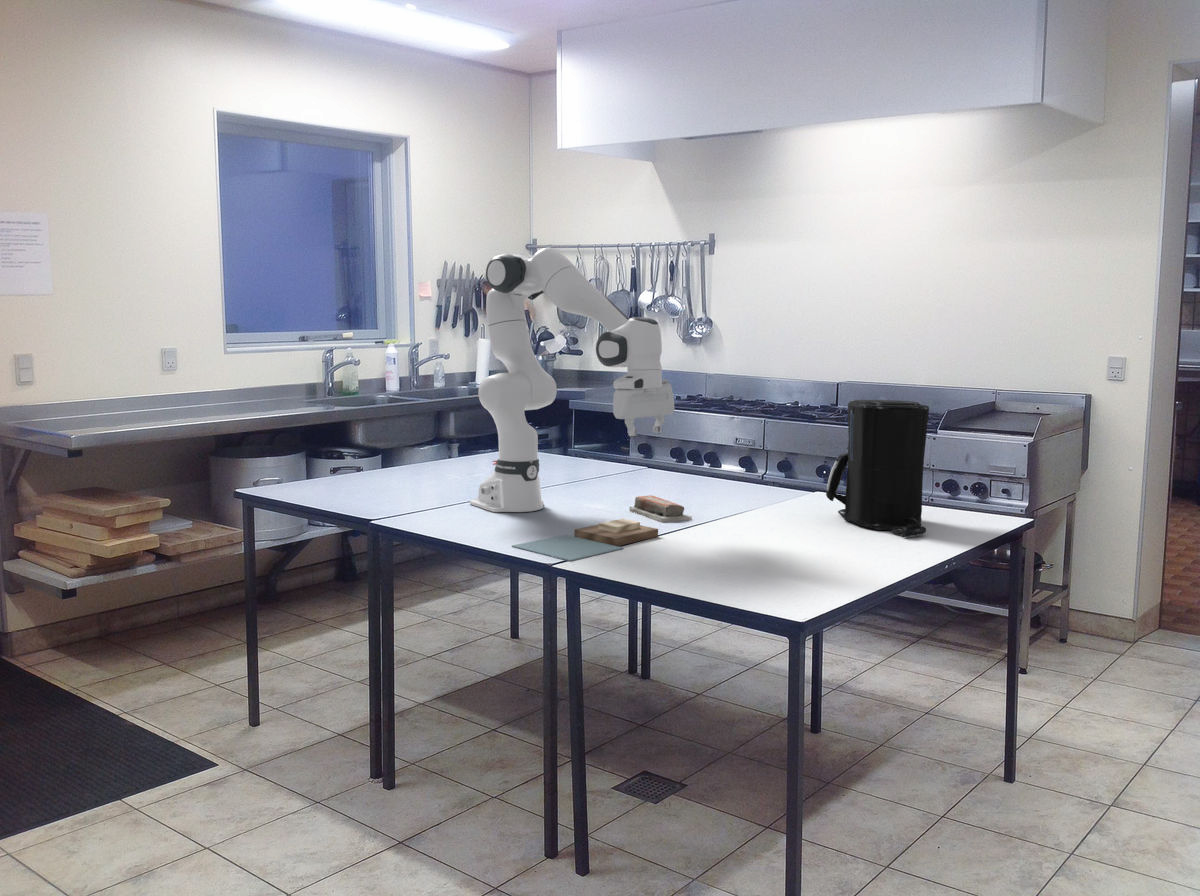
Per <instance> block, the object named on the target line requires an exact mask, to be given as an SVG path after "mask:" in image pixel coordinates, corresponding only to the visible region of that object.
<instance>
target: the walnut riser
mask: <svg viewBox="0 0 1200 896" xmlns="http://www.w3.org/2000/svg"><path fill="white" fill-rule="evenodd" d="M573 536H575V537H579V538H583V539H588V540H592V541H597V542H601V543H605V544H610V545H614V546H618V547H621V546H625V545H628V544H632V543H637V542H642V541H645V540H649V539H653V538H657V537H659V528H656V527H650V526H647V525H642V524H640V528H637V529H633V530H628V531H623V532H619V533H613V532H608V531H604V530H599V529H598V524H595V525H594V524H593V525H591V526H586V527H585V526H584V527H580V528H576V529H574V534H573Z"/></svg>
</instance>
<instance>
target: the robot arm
mask: <svg viewBox="0 0 1200 896" xmlns="http://www.w3.org/2000/svg"><path fill="white" fill-rule="evenodd" d="M485 268H486V269H485V278H486V281H487V284H488V285H489V287H490V288H491V289H490V290H489V291H487V295H486V300H485V301H486V303H485V306H486V307H485V308H486V310H485V311H486V322H487V323H486V324H487V329H488V336H489V341H490V348H491V352H492V354H493V356H494V357H495V358H496V359H497V360H499V361H501V362H502V364H503V365H504V366H505V368H506V369H507V371H508V372H499V373H496V374H492V375H489V376H486V377H485V378H483V379H482V381H481V382H480V384H479V387H478V394H477V395H478V399H479V402H480V403H481V406H482V407H483V408H484V409H485V410H487V411H488V413H489V414H490V415H491V417H492V418H493V421H494V424H495V426H496V430H497V439H498V459H497V460H492V465H493V466H494V465H495V467H494V472H492V473H491V474H490V475H489V476H487V478H486V479H484V480H483V481H482V482H481V483H480V484H479V486H478V494H477V495H478V498H474V499H471V500H470V501H469V504H470V505H471V506H474V507H477V508H481V509H484V510H486V511H489V512H492V513H526V512H534V511H539V510H541V509H542V510H543V508H544V500H543V498H542V490H541V481H540V476H539V471H540V459H539V458H538V452H539V451H538V446H539V445H538V441H539V440H538V439H539V437H538V432H537V430H536V429H535V428H534V427H533V426H531V425H530V424H529V422H528V421H527V418H526V415H525V414H526V413H525V411H533V410H539V409H542V408H544V407H547V406H550V405H551V404H552V403H553V402H554V401H555V400H556V397H557V392H558V388H557V383H556V381H555V379H554V377H553V376H552V375H551V374H549V373H548V372H546V370H545V369H544V368H543V367H542V366H541V364H540V362H539V361H538V359H537V357H536V355H535V353H534V350H533V347H532V343H531V340H530V333H529V330H528V329H529V327H528V323H527V318H526V312H525V303H526V301H527V300H528V299H529V300H530V301H534V300H535V299H536V298H539V296H540V295H542V294H544V295H546V297H547V298H548V300H550V302H551V303H552V304H553V305H554V306H555V307H557V308H558V309H559V310H561V311H563V312H565V313H569V314H573V315H579V316H581V317H582V316H583V317H586V318H589V319H591V320H593V321H596V322H597V323H599V324H600V325H602V326H603V328H605V330H607V331H604V332H603V333H602V334H600V335H599V336H598V339H597V341H596V344H595V353H596V357H597V359H598V361H599V362H600V364H601V365H603V366H605V367H609V368H627V372H626V373H625V374H624V375H622V376H620V377H619V378H617V379H615V380H614V381H613V388H614V393H613V397H612V398H613V399H612V400H613V401H612V411H613V416H614V417H615V419H618V420H624V424H625V426H626V428H627V433H628V436H629V437H635V436H638V428H635V424H634V423H635V419H639V418H648V417H654V419H655V423H654V425H653V426H652V433H653V434H660V433H662V426H663V424H664V421H665V416H668V415H673V414H674V412H675V400H674V399H675V398H674V391H673V388H672V387H673V386H672V384H671V383H670V381H669V380H668V379H663V378H662V377H663V373H662V372H663V371H662V369H663V367H662V364H661V355H662V351H663V350H662V349H663V347H662V346H663V345H662V344H663V343H662V342H663V341H662V331H661V326H660V324H659V322H658V321H657V320H655V319H653V318H649V317H643V316H632V317H630V318H629V317H628V316H627V315H626V314H625V313H624V312H623V311H621V309H620V308H619V307H618V306H616V305H615V303H614V302H612V301H611V299H609V298H608V297H607V296H606V295H604V294H603V293H602V292H601V291H600V290H598V288H596V287H595V286H594V285H593V284H592V283H591V282H590V281H589V280H588V279H587V278H586V277H585V275H583V274H582V273H581V271H580V270H579V269H578V267H576V266H575V265H574V264H573V263H572V261H571V260H569V259H568V257H566V256H565V255H564V254H563V253H561V251H558V250H557V249H556V248H553V247H544V248H541V249H539V250H537V252H536V253H534V254H533V255H531V254H524V253H521V254H520V253H519V254H517V253H516V254H515V253H514V254H510V253H502V254H499V255H495V256H493V257H492V258H491V259H489V261H488V263H487V265H486V267H485ZM493 462H494V463H493Z"/></svg>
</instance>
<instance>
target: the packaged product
mask: <svg viewBox="0 0 1200 896" xmlns="http://www.w3.org/2000/svg"><path fill="white" fill-rule="evenodd" d="M631 511H632V512H631ZM629 512H631V513H634V512H635V513H634V514H636V513H637V514H636V515H640V516H641V515H642V517H644V516H645V518H647V519H650V520H653V521H655V522H656V521H657V522H660V523H669V522H670V523H671V521H672V522H680V521H689V520H690V519H691V520H692V519H693V518H692V517H693V516H691V515H688V514H684V512H685V507H684V505H681V504H678V503H676V502H672V501H670V500H667V499H664V498H661V497H659V496H655V495H652V494H651V495H650V494H649V495H641V496H640V495H639V496H636V497H635V499H634V506H630V507H629Z"/></svg>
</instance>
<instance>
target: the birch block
mask: <svg viewBox="0 0 1200 896" xmlns="http://www.w3.org/2000/svg"><path fill="white" fill-rule="evenodd" d="M597 525H598V529H599V530H604V531H608V532H613V533H619V532H623V531H628V530H633V529H637V528H640V525H641V522H640V521H636V520H631V519H626V518H618V519H613V520H610V521H609V520H608V521H605V522H604V521H603V522H599V523H598V524H597Z"/></svg>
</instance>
